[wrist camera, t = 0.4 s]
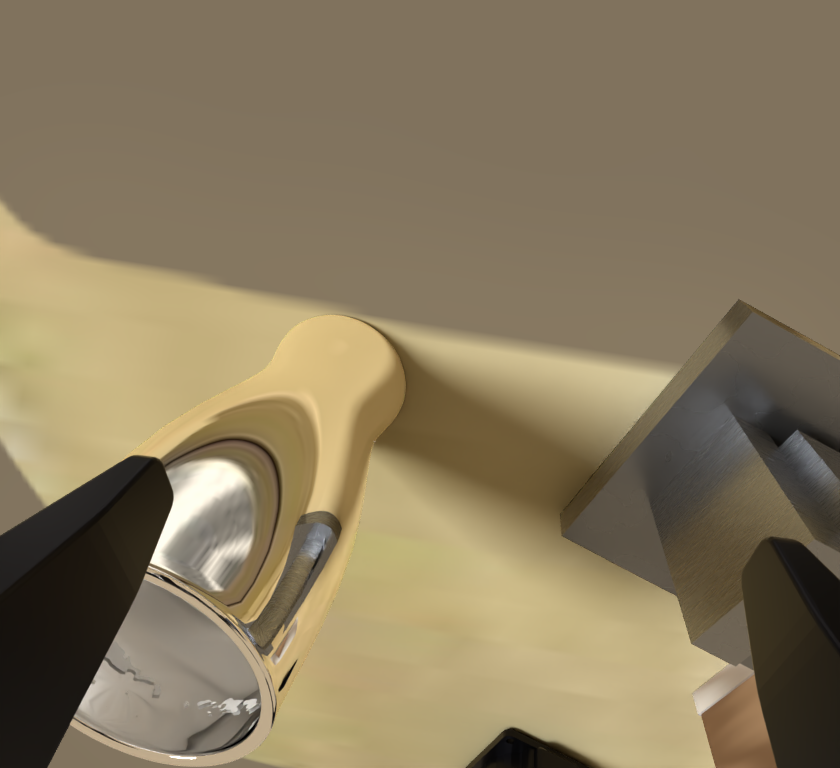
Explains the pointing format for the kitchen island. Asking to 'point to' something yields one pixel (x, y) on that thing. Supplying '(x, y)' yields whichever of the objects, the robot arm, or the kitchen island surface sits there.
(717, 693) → the brown rectangular block
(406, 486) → the kitchen island surface
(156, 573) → the beer glass
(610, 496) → the bracket
